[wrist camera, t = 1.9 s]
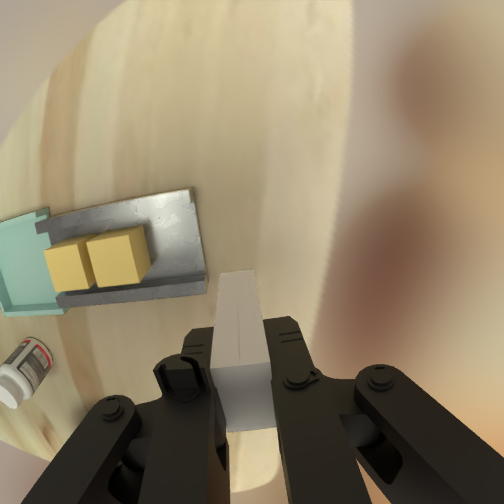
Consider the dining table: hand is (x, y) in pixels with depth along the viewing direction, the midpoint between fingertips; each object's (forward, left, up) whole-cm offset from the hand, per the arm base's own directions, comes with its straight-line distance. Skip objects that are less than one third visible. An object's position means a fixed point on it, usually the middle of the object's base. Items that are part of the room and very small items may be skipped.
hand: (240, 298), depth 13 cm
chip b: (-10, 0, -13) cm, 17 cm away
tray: (-25, 0, -14) cm, 29 cm away
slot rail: (-11, 0, -14) cm, 18 cm away
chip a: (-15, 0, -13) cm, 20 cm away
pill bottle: (-29, -13, -14) cm, 35 cm away
